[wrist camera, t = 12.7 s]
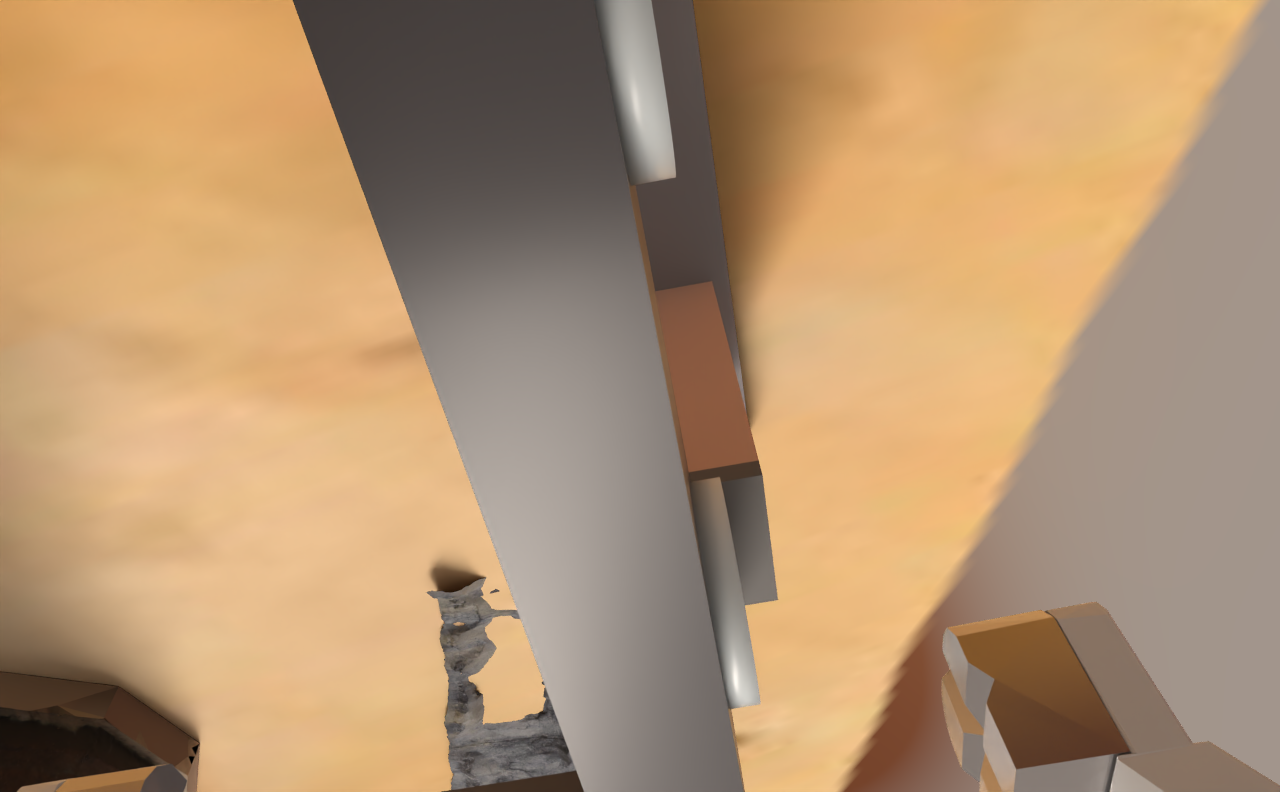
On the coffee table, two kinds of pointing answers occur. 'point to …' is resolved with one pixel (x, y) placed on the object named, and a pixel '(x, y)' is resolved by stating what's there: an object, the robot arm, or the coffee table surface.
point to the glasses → (555, 355)
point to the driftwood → (472, 744)
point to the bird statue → (82, 733)
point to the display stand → (703, 305)
